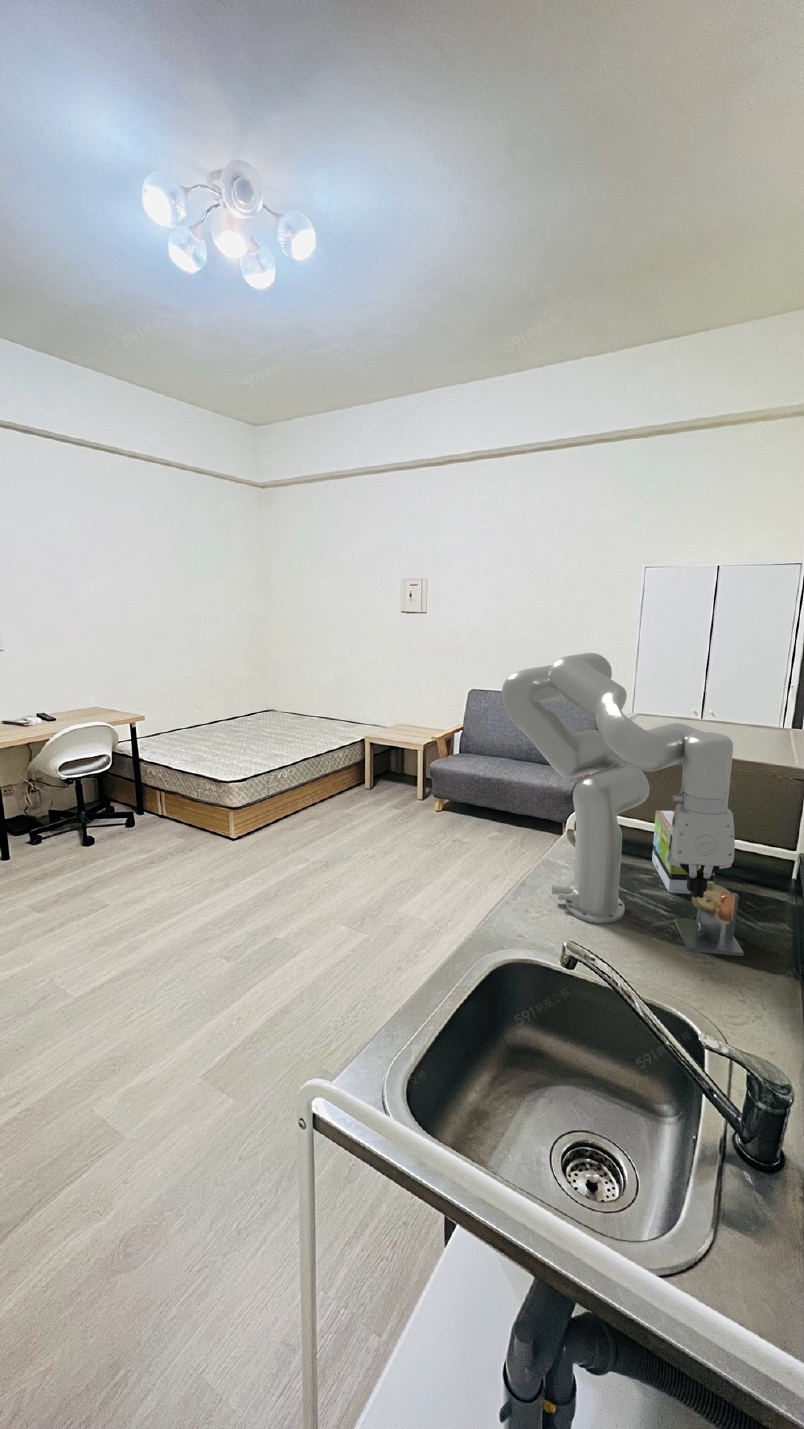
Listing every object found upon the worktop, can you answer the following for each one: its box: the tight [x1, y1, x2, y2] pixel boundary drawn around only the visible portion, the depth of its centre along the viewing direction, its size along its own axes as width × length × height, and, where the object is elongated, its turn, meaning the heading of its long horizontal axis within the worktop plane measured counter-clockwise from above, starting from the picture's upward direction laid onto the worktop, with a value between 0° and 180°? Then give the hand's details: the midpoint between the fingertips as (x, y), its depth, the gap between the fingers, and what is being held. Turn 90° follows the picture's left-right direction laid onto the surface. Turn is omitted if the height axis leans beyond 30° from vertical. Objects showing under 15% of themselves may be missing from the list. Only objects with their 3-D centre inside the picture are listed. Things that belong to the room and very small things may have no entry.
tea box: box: [651, 809, 716, 895], centre depth 139 cm, size 15×10×15 cm, turn 172°
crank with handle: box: [691, 883, 735, 924], centre depth 113 cm, size 12×7×7 cm, turn 169°
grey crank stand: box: [674, 892, 745, 957], centre depth 117 cm, size 10×10×9 cm
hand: (695, 893), depth 108 cm, fingers closed
